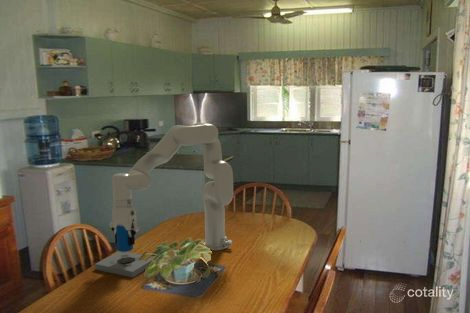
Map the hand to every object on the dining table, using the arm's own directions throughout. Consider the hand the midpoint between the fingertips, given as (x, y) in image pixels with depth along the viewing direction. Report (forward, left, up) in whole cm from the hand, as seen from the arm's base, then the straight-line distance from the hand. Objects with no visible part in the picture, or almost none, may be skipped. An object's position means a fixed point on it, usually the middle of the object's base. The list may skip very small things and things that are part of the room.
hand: (125, 243), depth 179 cm
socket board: (0, 0, -10) cm, 10 cm away
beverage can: (0, 0, -3) cm, 3 cm away
